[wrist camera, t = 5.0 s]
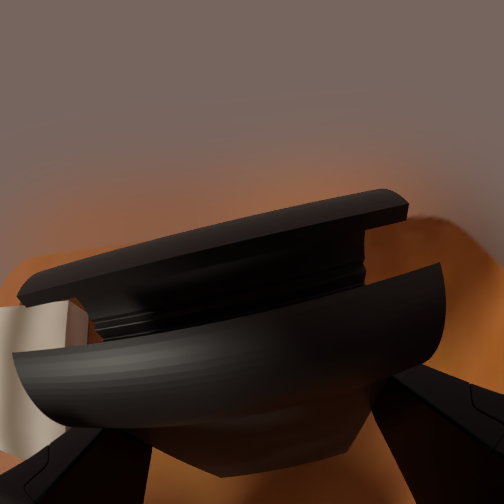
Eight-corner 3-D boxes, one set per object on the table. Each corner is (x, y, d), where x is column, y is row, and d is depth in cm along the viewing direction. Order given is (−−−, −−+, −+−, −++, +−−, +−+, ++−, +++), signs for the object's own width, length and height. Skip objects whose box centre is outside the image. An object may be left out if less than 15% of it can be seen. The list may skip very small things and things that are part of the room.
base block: (89, 313, 18) (68, 300, 16) (93, 470, 13) (70, 474, 11) (11, 319, 19) (-8, 308, 16) (9, 446, 13) (-13, 444, 11)
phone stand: (344, 451, 11) (500, 537, 1) (222, 476, 11) (59, 588, 1) (302, 287, 16) (313, 68, 6) (193, 311, 16) (61, 136, 6)
